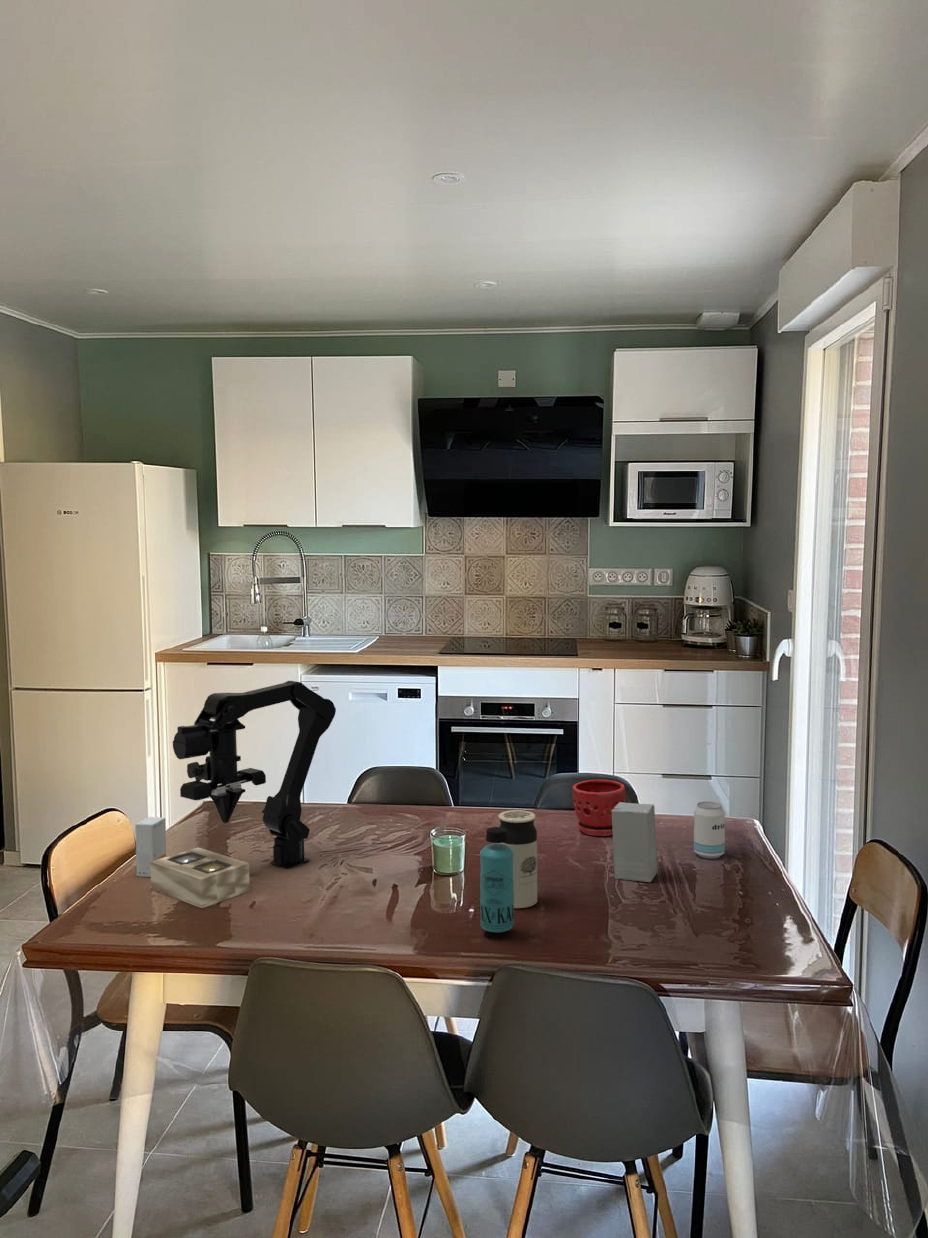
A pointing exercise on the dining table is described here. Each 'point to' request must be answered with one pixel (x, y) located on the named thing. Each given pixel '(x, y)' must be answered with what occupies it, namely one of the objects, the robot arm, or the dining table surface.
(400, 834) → the dining table surface
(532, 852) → the travel mug
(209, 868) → the brass peg
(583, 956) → the dining table surface
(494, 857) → the beverage bottle
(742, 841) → the dining table surface
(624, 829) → the skincare box
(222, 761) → the robot arm
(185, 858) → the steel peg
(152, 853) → the skincare box
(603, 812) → the plant pot
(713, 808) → the beverage can
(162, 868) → the collar block
